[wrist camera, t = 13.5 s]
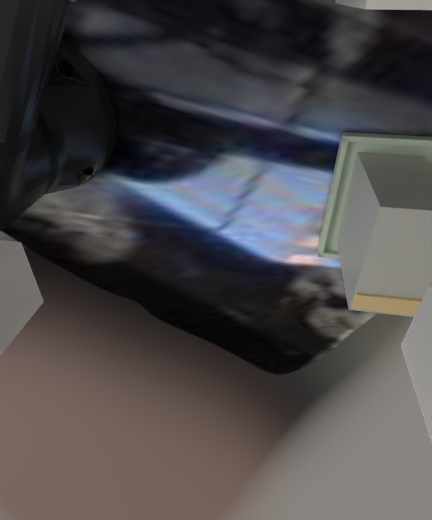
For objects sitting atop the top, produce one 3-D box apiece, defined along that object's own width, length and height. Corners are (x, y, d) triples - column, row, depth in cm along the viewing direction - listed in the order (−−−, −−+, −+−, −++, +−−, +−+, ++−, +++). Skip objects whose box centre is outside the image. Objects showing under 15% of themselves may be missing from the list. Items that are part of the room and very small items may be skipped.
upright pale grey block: (335, 240, 40) (349, 312, 31) (357, 152, 34) (381, 208, 25) (392, 245, 39) (423, 320, 30) (424, 156, 33) (474, 215, 24)
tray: (317, 250, 42) (317, 256, 41) (342, 131, 34) (343, 135, 33) (403, 258, 40) (406, 264, 39) (450, 137, 32) (455, 142, 31)
